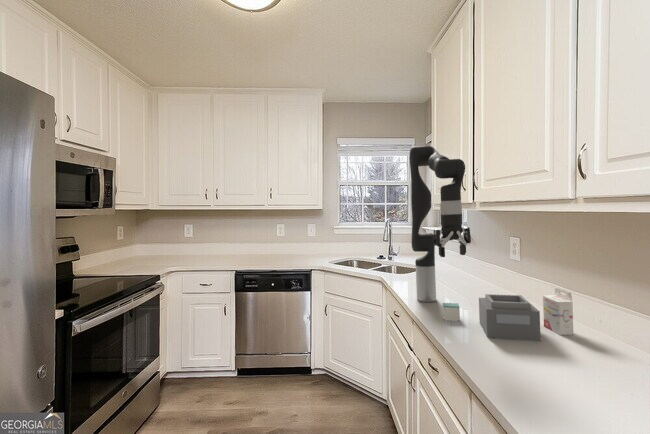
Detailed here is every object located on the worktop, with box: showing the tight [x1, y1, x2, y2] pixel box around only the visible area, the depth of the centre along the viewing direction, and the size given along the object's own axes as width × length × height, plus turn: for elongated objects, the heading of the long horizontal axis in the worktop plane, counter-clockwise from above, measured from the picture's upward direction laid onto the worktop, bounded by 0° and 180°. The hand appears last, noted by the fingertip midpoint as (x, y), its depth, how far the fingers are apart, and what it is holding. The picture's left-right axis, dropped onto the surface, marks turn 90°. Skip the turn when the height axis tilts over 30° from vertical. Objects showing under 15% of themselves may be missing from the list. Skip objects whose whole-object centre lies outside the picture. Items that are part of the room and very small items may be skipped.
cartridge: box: [442, 302, 461, 321], centre depth 127 cm, size 4×6×6 cm, turn 73°
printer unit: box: [478, 293, 542, 342], centre depth 112 cm, size 15×16×12 cm
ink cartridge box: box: [542, 286, 574, 336], centre depth 111 cm, size 9×5×15 cm, turn 179°
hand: (452, 255), depth 116 cm, fingers open, 8 cm apart
